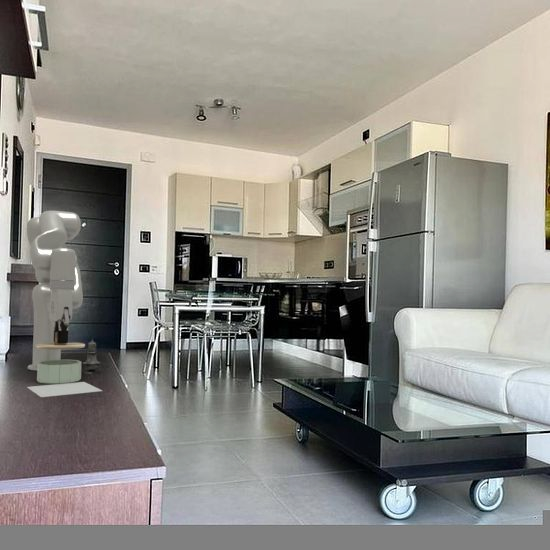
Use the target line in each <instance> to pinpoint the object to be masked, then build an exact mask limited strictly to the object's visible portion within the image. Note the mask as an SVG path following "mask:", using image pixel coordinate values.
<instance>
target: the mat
mask: <svg viewBox="0 0 550 550" xmlns="http://www.w3.org/2000/svg"><path fill="white" fill-rule="evenodd" d="M26 388H27V389H29V390H30V391H31V392H33V393H34V394H35V395H37V396H38V397H40V398H48V397H57V396H59V397H60V396H68V395H77V394H79V395H80V394H88V393H89V394H90V393H97V392H103V390H102V389H100V388H98V387H96V386H94V385H92V384H90V383H87V382H85V381H76V382H70V383H54V384H45V385H35V386H34V385H33V386H26Z"/></svg>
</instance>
